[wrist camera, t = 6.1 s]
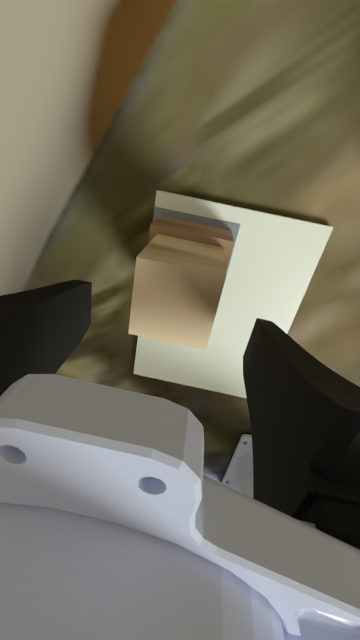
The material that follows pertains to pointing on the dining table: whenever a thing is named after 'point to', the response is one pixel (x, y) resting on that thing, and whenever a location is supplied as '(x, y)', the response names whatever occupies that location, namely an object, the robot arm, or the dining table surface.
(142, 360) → the cream flat slab
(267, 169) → the dining table surface
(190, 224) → the walnut base
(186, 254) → the maple pillar
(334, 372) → the robot arm
